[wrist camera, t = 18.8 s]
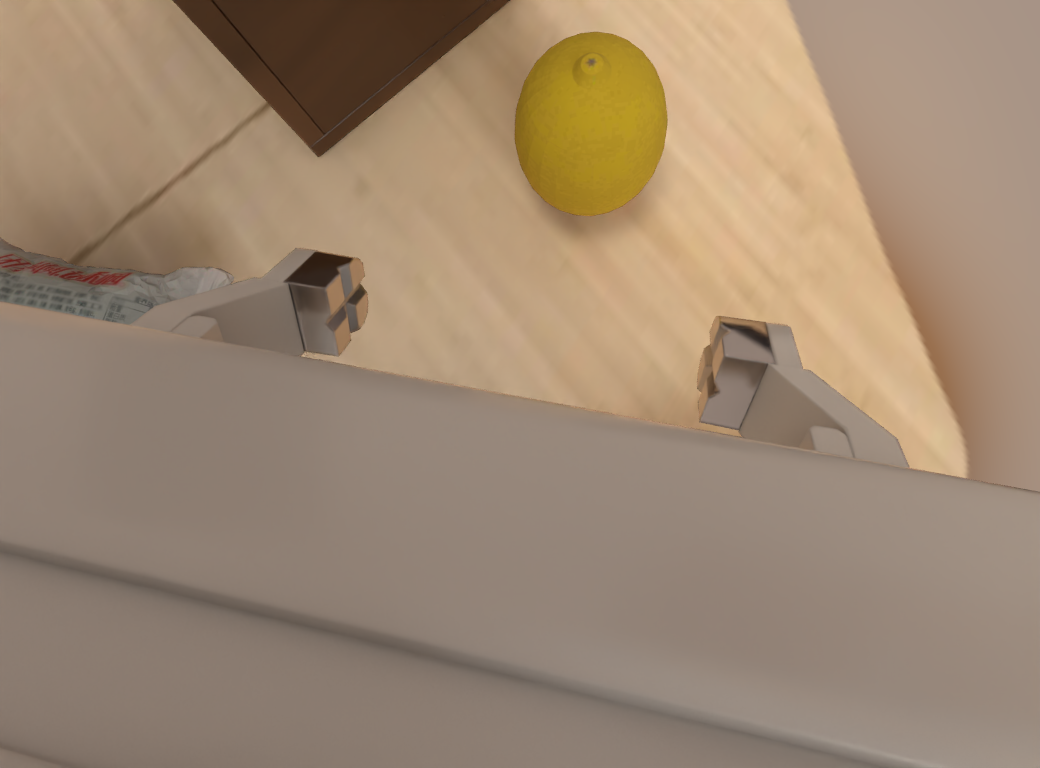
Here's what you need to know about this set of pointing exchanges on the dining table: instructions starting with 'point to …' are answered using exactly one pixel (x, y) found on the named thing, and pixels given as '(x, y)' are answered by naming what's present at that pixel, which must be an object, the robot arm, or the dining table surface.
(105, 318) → the packaged food
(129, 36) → the dining table surface
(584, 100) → the lemon
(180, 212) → the dining table surface
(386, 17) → the chest
